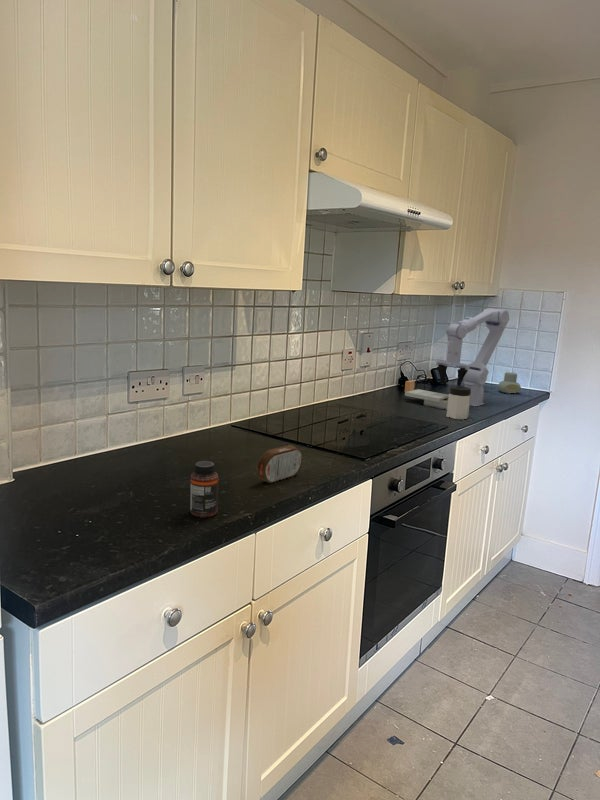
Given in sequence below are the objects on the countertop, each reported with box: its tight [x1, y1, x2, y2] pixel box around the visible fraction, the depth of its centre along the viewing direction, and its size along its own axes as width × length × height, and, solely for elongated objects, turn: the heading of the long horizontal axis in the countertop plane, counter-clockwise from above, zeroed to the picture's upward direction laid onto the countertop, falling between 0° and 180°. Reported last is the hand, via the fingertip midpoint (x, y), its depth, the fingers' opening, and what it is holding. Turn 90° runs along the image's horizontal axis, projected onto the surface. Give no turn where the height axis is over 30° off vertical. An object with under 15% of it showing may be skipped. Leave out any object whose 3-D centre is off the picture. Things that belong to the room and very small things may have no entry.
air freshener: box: [497, 371, 522, 394], centre depth 303 cm, size 11×8×10 cm
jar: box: [445, 385, 471, 420], centre depth 240 cm, size 9×8×12 cm
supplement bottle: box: [189, 460, 219, 518], centre depth 130 cm, size 6×6×11 cm
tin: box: [256, 444, 304, 484], centre depth 155 cm, size 15×3×8 cm, turn 139°
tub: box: [423, 398, 448, 411], centre depth 259 cm, size 10×16×4 cm, turn 50°
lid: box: [404, 380, 449, 402], centre depth 265 cm, size 11×19×6 cm, turn 50°
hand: (450, 384), depth 259 cm, fingers open, 7 cm apart
